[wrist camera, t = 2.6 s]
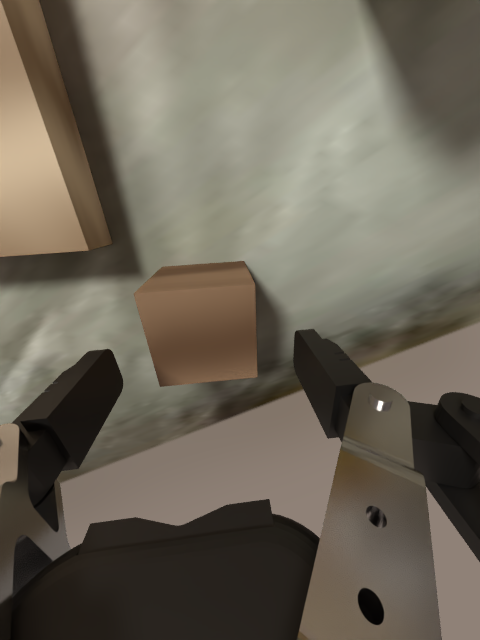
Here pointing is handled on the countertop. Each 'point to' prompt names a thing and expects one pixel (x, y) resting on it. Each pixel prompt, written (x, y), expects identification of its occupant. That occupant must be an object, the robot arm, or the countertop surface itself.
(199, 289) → the walnut cube
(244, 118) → the countertop surface
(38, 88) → the maple block
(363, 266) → the countertop surface
